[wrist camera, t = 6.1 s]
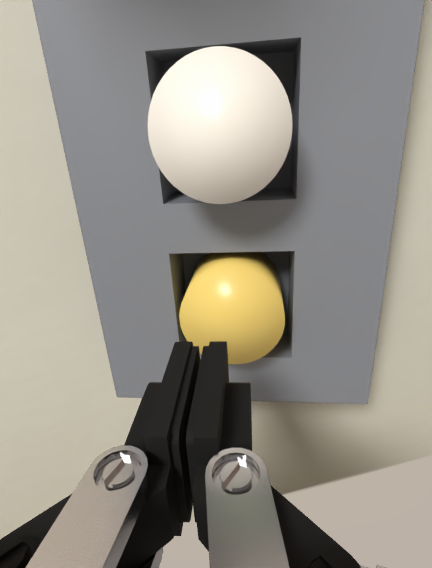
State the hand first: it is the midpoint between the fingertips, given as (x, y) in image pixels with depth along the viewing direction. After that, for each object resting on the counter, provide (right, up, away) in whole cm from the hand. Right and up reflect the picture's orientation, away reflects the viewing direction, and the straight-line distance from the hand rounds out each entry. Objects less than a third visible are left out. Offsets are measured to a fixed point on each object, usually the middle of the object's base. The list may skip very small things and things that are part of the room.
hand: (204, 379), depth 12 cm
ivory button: (+1, +9, +2) cm, 9 cm away
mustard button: (+1, +3, +6) cm, 6 cm away
